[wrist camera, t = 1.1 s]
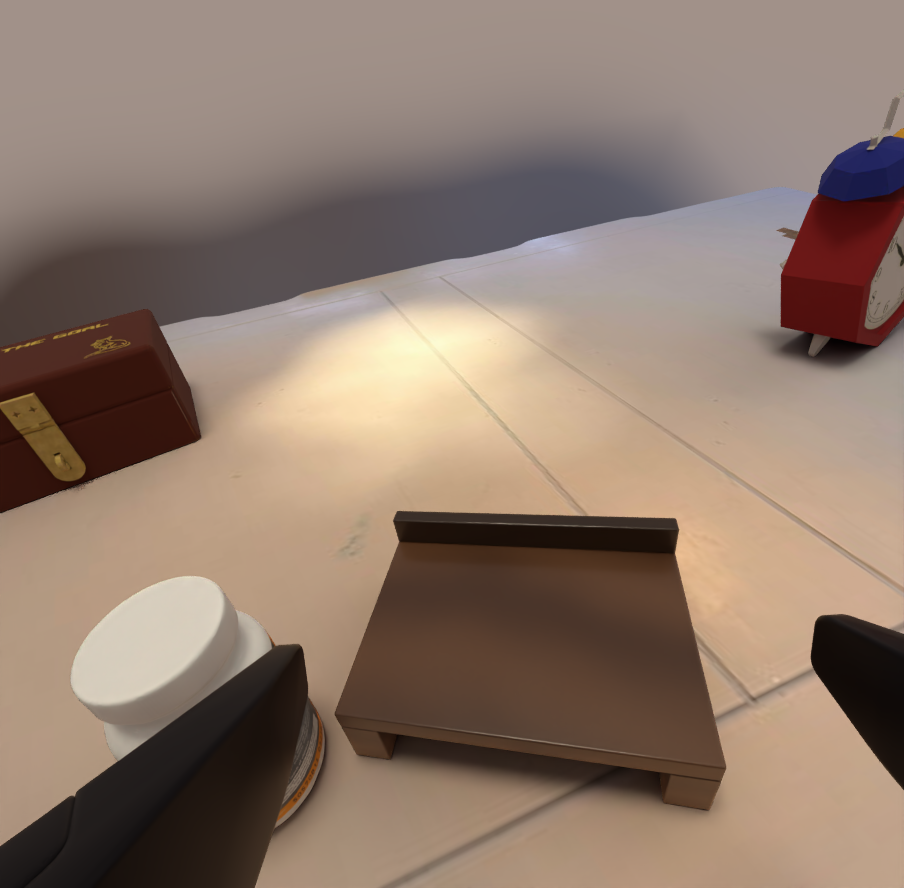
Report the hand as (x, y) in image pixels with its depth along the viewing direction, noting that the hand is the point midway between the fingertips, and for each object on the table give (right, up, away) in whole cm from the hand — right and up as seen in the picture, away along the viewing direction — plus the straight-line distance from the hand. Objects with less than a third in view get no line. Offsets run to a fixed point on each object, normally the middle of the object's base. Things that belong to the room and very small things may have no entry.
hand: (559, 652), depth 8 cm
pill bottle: (-10, -11, +13) cm, 19 cm away
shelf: (+2, -7, +15) cm, 16 cm away
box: (-39, +3, +40) cm, 56 cm away
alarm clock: (+34, +14, +37) cm, 52 cm away
